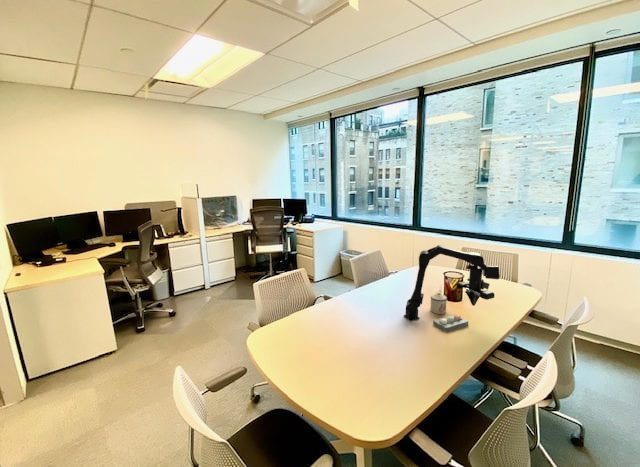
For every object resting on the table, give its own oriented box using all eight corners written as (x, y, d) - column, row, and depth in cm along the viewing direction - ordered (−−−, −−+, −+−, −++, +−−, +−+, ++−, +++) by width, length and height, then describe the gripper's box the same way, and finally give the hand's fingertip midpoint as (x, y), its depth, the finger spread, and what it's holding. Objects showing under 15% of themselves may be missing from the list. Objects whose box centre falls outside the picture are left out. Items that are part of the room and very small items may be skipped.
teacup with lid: (441, 316, 171) (442, 297, 169) (426, 310, 178) (427, 292, 176) (451, 309, 178) (452, 291, 176) (437, 305, 185) (438, 287, 183)
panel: (445, 332, 153) (446, 327, 153) (432, 324, 162) (433, 320, 161) (468, 325, 160) (468, 321, 159) (454, 318, 168) (454, 314, 167)
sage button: (450, 326, 158) (450, 319, 158) (445, 323, 161) (446, 317, 161) (455, 324, 160) (455, 318, 159) (450, 322, 163) (450, 316, 162)
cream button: (443, 328, 156) (443, 321, 156) (438, 325, 159) (439, 319, 159) (448, 326, 158) (448, 320, 157) (443, 324, 161) (443, 318, 160)
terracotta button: (457, 324, 160) (457, 317, 160) (452, 321, 163) (453, 315, 163) (461, 322, 162) (462, 316, 161) (457, 320, 164) (457, 314, 164)
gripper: (503, 280, 148) (500, 309, 151) (471, 270, 165) (469, 296, 168) (487, 284, 144) (485, 313, 147) (456, 273, 161) (454, 300, 164)
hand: (473, 305), depth 156 cm, fingers closed
